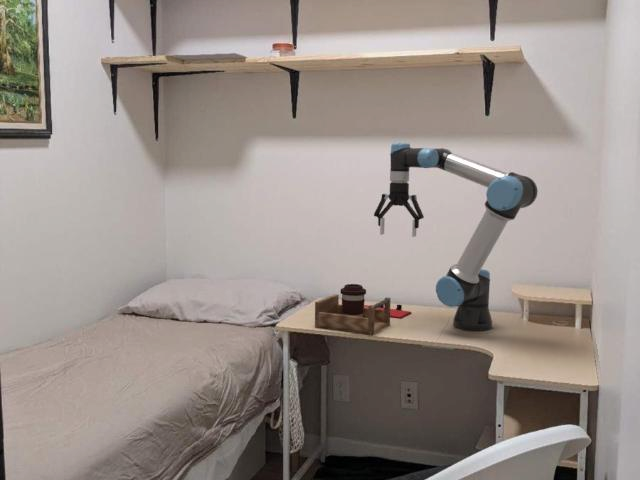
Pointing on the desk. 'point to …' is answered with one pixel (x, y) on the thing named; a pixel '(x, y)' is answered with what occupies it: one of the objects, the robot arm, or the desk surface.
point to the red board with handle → (395, 312)
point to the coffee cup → (353, 300)
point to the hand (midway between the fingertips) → (397, 235)
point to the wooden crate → (351, 317)
